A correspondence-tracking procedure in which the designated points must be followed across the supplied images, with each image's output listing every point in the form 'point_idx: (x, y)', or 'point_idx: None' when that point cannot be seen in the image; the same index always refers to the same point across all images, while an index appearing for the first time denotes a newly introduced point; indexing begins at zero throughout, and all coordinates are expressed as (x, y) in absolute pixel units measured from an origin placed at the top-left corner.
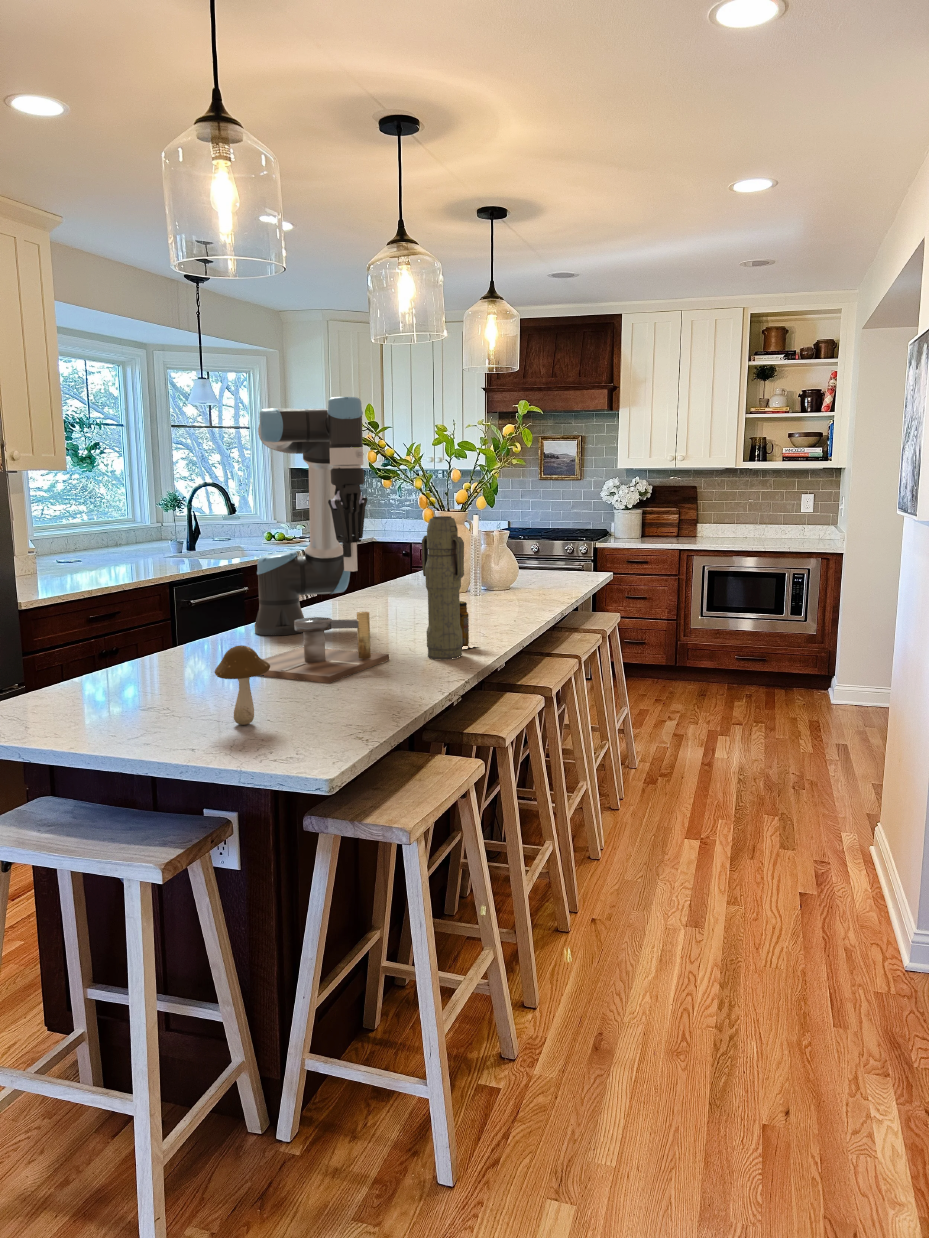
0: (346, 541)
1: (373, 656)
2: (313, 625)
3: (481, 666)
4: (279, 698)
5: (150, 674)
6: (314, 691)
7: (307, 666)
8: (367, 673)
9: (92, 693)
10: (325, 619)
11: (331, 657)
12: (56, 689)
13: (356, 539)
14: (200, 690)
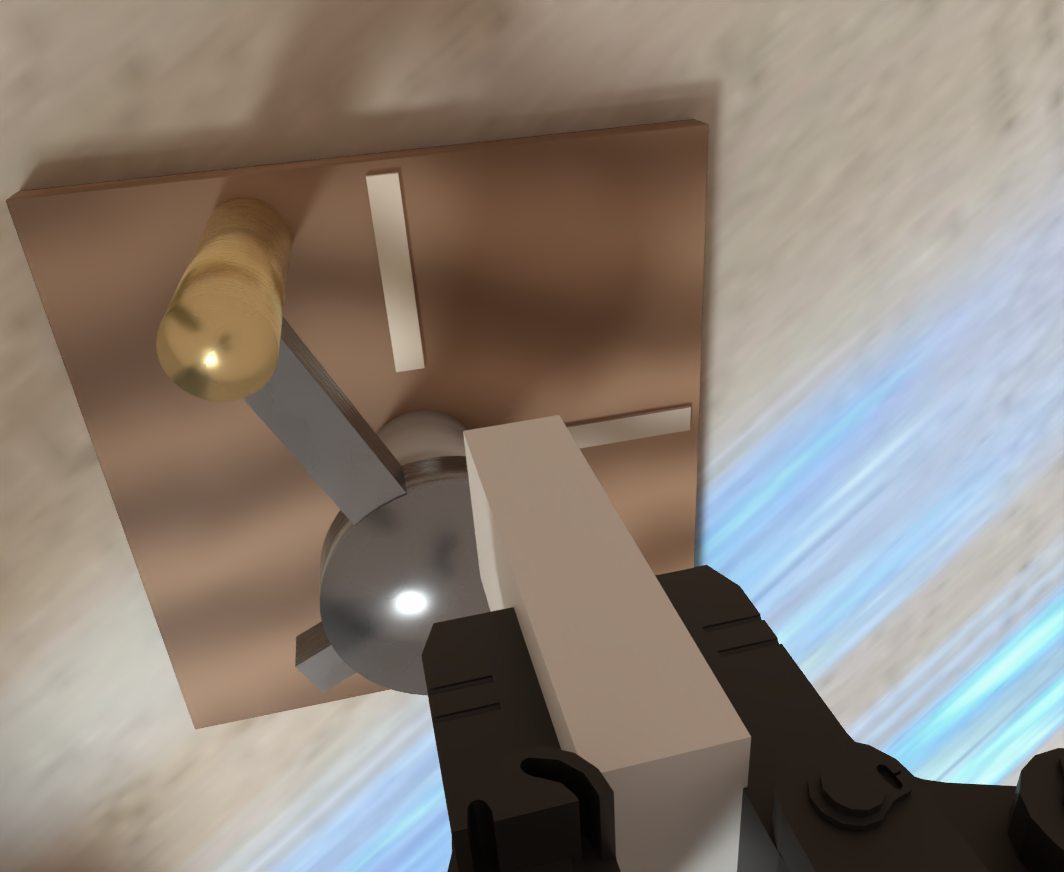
0: (956, 789)
1: (140, 246)
2: None
3: None
4: (1011, 131)
5: None
6: (863, 67)
7: (557, 392)
8: (408, 71)
9: (1044, 720)
10: (381, 561)
11: None
12: None
13: (581, 869)
14: (952, 507)
